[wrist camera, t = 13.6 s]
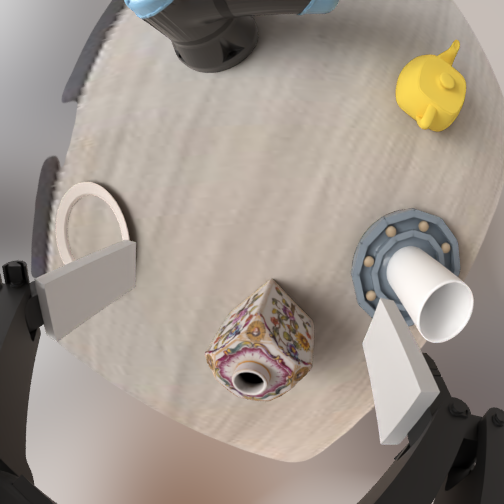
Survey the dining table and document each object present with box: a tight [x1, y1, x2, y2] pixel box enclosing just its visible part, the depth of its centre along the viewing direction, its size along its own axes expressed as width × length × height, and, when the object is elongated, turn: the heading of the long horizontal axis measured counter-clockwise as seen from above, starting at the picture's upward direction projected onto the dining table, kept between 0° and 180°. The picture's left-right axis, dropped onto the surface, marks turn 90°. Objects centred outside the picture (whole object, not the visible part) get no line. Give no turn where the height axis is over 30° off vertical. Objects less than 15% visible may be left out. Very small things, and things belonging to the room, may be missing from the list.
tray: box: [351, 208, 460, 326], centre depth 40 cm, size 20×20×3 cm
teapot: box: [396, 40, 466, 132], centre depth 27 cm, size 18×11×11 cm, turn 153°
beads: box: [363, 221, 450, 301], centre depth 39 cm, size 17×17×2 cm
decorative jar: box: [205, 279, 314, 401], centre depth 40 cm, size 12×12×18 cm
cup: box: [387, 246, 474, 343], centre depth 32 cm, size 8×8×16 cm
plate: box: [55, 182, 130, 265], centre depth 52 cm, size 26×26×2 cm
